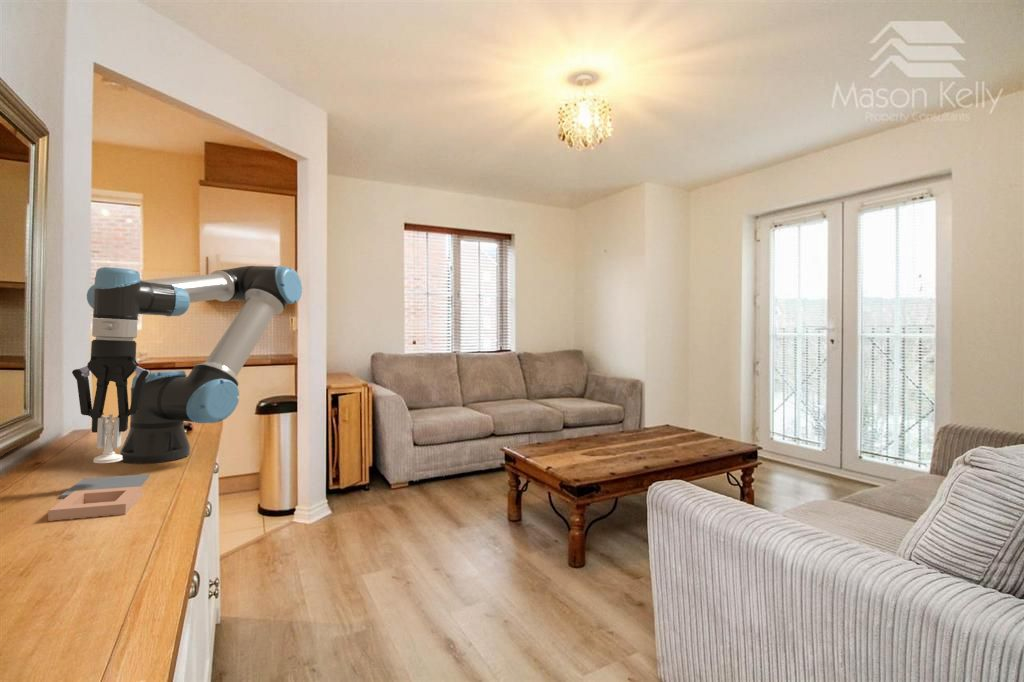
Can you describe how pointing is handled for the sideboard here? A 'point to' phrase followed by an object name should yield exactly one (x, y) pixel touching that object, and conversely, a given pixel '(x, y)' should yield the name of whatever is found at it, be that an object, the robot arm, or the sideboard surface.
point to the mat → (107, 483)
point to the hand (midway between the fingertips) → (109, 446)
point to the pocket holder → (96, 503)
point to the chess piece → (108, 445)
